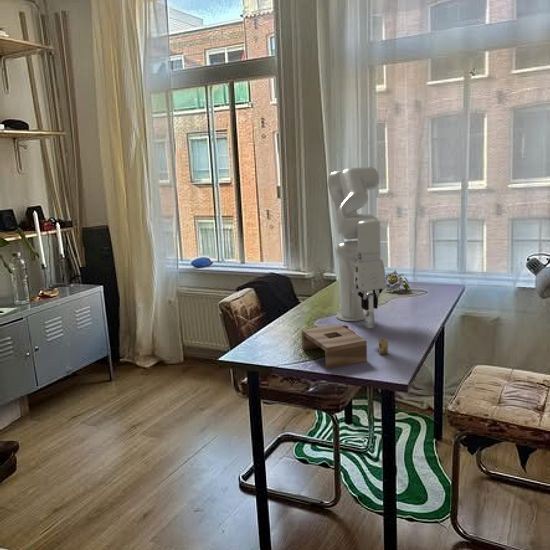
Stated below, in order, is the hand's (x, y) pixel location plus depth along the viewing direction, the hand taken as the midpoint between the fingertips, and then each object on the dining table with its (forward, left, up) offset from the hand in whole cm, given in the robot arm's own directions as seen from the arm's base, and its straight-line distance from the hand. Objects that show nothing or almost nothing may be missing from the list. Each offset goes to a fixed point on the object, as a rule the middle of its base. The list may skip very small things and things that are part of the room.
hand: (369, 308), depth 183 cm
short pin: (+11, -1, -13) cm, 17 cm away
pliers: (-14, -3, -14) cm, 20 cm away
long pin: (0, 0, -7) cm, 7 cm away
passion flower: (-59, +49, -13) cm, 78 cm away
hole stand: (+4, -16, -13) cm, 21 cm away
